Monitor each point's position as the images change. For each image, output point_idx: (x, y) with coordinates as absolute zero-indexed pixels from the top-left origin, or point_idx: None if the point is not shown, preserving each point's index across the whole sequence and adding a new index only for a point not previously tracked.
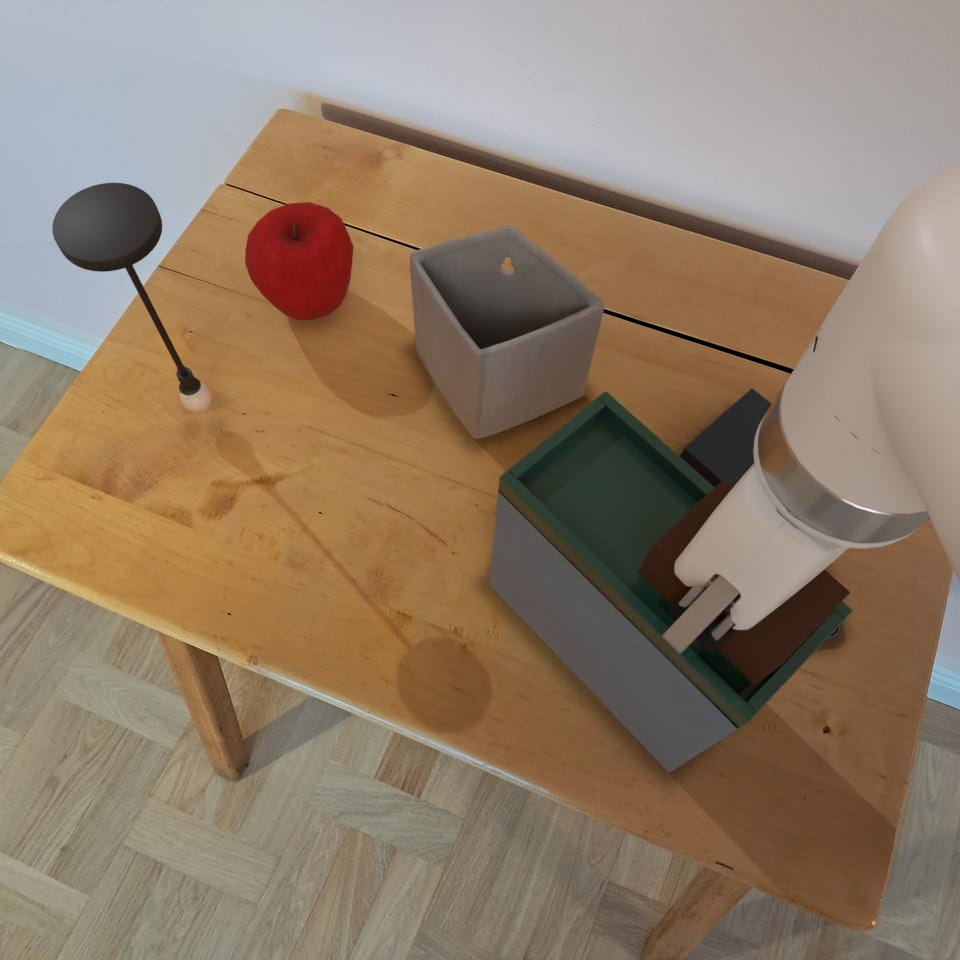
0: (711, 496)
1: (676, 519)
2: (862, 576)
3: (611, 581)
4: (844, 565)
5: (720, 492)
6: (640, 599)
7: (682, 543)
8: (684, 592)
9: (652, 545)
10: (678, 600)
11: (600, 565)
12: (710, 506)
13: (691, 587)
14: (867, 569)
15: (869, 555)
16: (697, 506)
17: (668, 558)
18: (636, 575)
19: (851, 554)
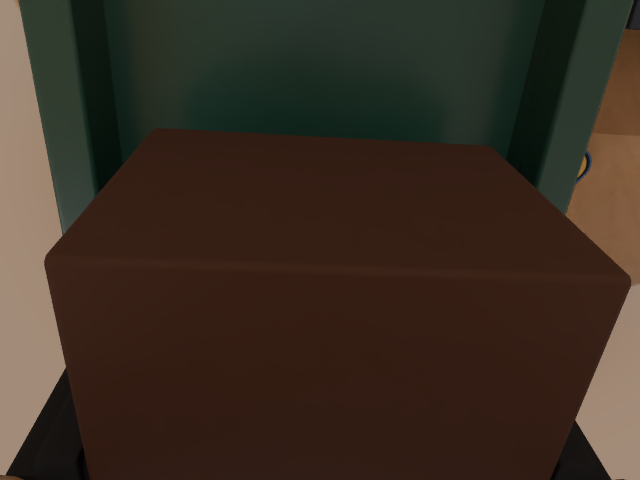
0: (506, 294)
1: (430, 71)
2: (596, 218)
3: (50, 84)
4: (599, 194)
5: (554, 311)
6: (97, 192)
7: (181, 347)
8: (38, 453)
9: (305, 73)
10: None
11: (51, 9)
12: (450, 323)
13: (71, 466)
14: (609, 217)
15: (630, 208)
16: (407, 281)
17: (64, 350)
18: (191, 102)
19: (620, 192)
